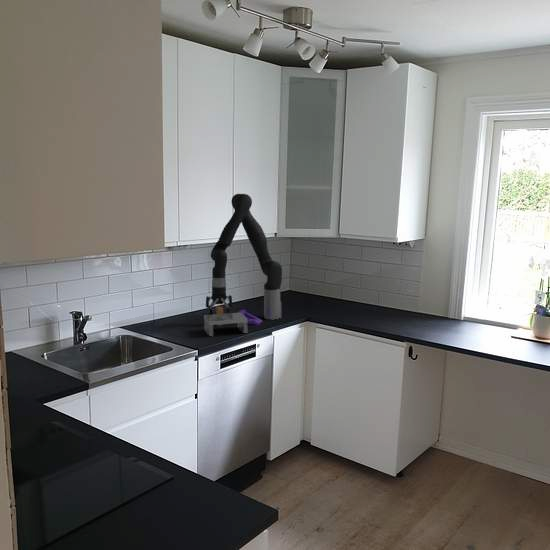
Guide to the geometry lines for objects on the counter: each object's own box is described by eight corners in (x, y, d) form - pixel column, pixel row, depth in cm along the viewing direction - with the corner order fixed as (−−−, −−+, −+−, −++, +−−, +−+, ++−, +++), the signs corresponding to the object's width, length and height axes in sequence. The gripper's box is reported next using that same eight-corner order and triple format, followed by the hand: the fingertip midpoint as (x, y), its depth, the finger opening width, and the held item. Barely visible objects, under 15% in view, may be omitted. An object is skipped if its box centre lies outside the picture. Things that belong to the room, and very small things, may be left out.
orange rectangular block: (221, 323, 307) (221, 306, 305) (223, 325, 303) (223, 307, 301) (216, 324, 306) (215, 306, 304) (217, 326, 302) (217, 308, 300)
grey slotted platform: (241, 326, 300) (240, 312, 298) (247, 333, 286) (247, 318, 285) (204, 329, 294) (204, 315, 292) (209, 336, 281) (209, 321, 279)
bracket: (237, 324, 307) (237, 312, 306) (242, 321, 313) (242, 309, 312) (258, 326, 303) (257, 313, 302) (262, 323, 309) (262, 311, 308)
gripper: (230, 283, 306) (230, 312, 309) (204, 285, 302) (204, 314, 305) (233, 286, 299) (233, 315, 302) (207, 287, 295) (207, 317, 297)
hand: (219, 314), depth 303 cm, fingers open, 8 cm apart
